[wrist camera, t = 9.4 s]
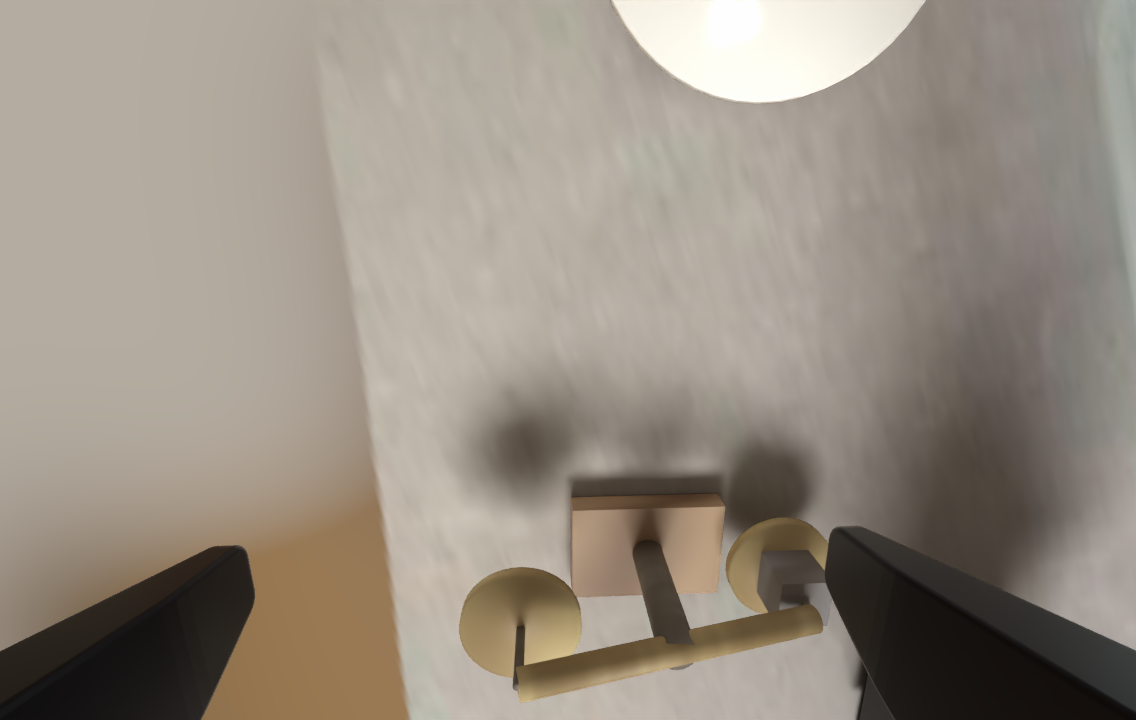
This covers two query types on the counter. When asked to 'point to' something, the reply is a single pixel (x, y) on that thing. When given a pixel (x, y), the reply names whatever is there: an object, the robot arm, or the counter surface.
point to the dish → (763, 42)
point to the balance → (646, 593)
